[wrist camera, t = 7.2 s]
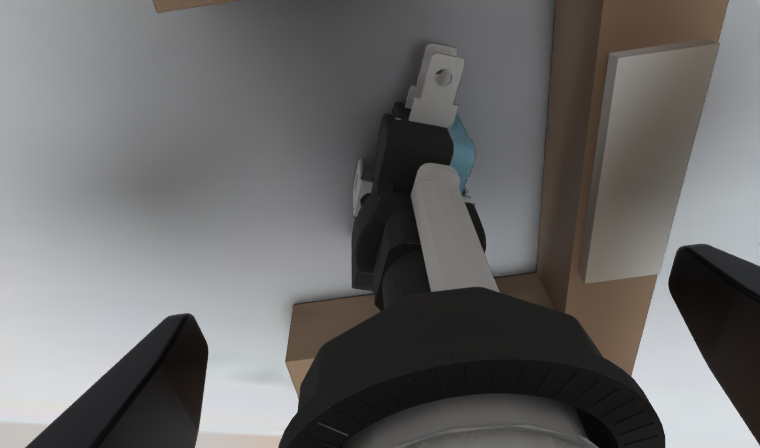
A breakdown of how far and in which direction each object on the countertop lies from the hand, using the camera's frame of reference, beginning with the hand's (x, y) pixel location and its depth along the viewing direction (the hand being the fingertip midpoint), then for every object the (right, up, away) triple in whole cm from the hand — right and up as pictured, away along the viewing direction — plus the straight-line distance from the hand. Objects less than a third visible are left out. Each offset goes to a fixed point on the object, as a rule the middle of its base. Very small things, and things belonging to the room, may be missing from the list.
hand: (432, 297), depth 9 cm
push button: (0, +3, +5) cm, 6 cm away
